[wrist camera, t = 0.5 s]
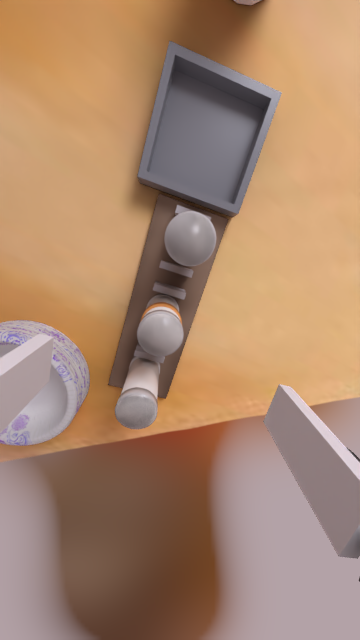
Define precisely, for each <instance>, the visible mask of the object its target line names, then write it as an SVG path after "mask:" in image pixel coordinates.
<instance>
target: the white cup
mask: <svg viewBox="0 0 360 640" xmlns="http://www.w3.org/2000/svg"><path fill="white" fill-rule="evenodd" d="M234 1H235V2H236V3H238V4H245V5H253V4H255V3H257V2H259V1H261V0H234Z"/></svg>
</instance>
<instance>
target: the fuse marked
mask: <svg viewBox="0 0 360 640" xmlns="http://www.w3.org/2000/svg"><path fill="white" fill-rule="evenodd" d="M137 339H138V342H139V344H140V346H141V347H142V348H143V350H145V351H146V352H147V353H149V354H151V355H154V356H167V355H170V354H172V353H174V352H175V351H176V350H177V349H178V348H179V347H180V345H181V344H182V341H183V327H182V320H181V316H180V313H179V307H178V304H177V302H176V300H175V299H174V298H173V297H172V296H170V295H167V294H158V295H155V296H154V297H152V298H151V299H150V300H149V302H148V304H147V307H146V310H145V311H144V313H143V315H142V318H141V321H140V324H139V327H138V330H137Z"/></svg>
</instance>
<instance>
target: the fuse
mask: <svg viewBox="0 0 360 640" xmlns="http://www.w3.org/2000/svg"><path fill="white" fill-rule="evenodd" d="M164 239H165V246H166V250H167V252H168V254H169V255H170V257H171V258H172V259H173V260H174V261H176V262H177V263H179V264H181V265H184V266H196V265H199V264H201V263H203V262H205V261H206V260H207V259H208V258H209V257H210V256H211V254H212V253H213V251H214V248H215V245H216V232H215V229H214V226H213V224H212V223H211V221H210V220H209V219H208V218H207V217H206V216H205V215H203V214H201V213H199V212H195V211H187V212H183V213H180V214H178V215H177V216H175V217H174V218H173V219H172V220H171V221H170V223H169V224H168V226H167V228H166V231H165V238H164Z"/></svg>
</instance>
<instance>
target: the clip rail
mask: <svg viewBox="0 0 360 640" xmlns="http://www.w3.org/2000/svg"><path fill="white" fill-rule="evenodd" d="M187 211H195V212H199V213H201V214H203V215H205V216H206V217H207V218H208V219H209V220H210V221H211V223H212V224H213V226H214V229H215V232H216V245H215V248H214V251H213V253H212V254H211V256H210V257H209V258H208V259H207V260H206V261H205V262H203V263H201V264H199V265H196V266H184V265H181V264H179V263H177V262H176V261H174V260H173V259H172V258H171V257H170V255H169V254H168V252H167V250H166V246H165V239H164V238H165V231H166V228H167V226H168V224H169V223H170V221H171V220H172V219H173V218H174V217H175V216H177V215H178V214H180V213H183V212H187ZM227 222H228V219H226V218H223V217H221V216H218V215H215V214H213V213H210V212H207V211H204V210H202V209H199V208H196V207H194V206H191V205H188V204H185V203H183V202H180V201H177V200H174V199H172V198H169V197H166V196H164V195H161V194H159V195H158V199H157V203H156V206H155V210H154V214H153V218H152V221H151V225H150V229H149V233H148V237H147V240H146V244H145V248H144V252H143V255H142V259H141V263H140V267H139V270H138V274H137V278H136V282H135V285H134V289H133V293H132V297H131V301H130V304H129V308H128V312H127V316H126V319H125V323H124V327H123V331H122V334H121V338H120V342H119V346H118V350H117V353H116V357H115V361H114V365H113V368H112V372H111V376H110V380H109V383H108V385H112V386H116V387H120V388H123V386H124V383H125V380H126V377H127V374H128V371H129V366H130V363H131V360H132V359H133V358H134V357H135V356H137V357H141V358H145V359H148V360H152V361H156V362H160V374H159V381H158V395H157V397H161V398H165V399H166V396H167V394H168V391H169V388H170V385H171V382H172V379H173V376H174V374H175V371H176V368H177V365H178V362H179V359H180V356H181V354H182V351H183V348H184V345H185V342H186V339H187V336H188V334H189V331H190V328H191V325H192V322H193V319H194V316H195V314H196V311H197V308H198V305H199V302H200V299H201V296H202V294H203V291H204V288H205V285H206V282H207V279H208V276H209V274H210V271H211V268H212V265H213V262H214V259H215V256H216V254H217V251H218V248H219V245H220V242H221V239H222V236H223V234H224V231H225V228H226V225H227ZM158 294H167V295H170V296H172V297H173V298H174V299H175V300H176V302H177V304H178V307H179V313H180V316H181V320H182V327H183V341H182V344H181V345H180V347H179V348H178V349H177V350H176V351H175V352H174V353H172V354H170V355H167V356H154V355H151V354H149V353H147V352H146V351H145V350H143V348H142V347H141V346H140V344H139V342H138V339H137V330H138V327H139V324H140V321H141V318H142V315H143V313H144V311H145V310H146V307H147V304H148V302H149V300H150V299H151V298H152V297H154V296H155V295H158Z"/></svg>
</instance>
